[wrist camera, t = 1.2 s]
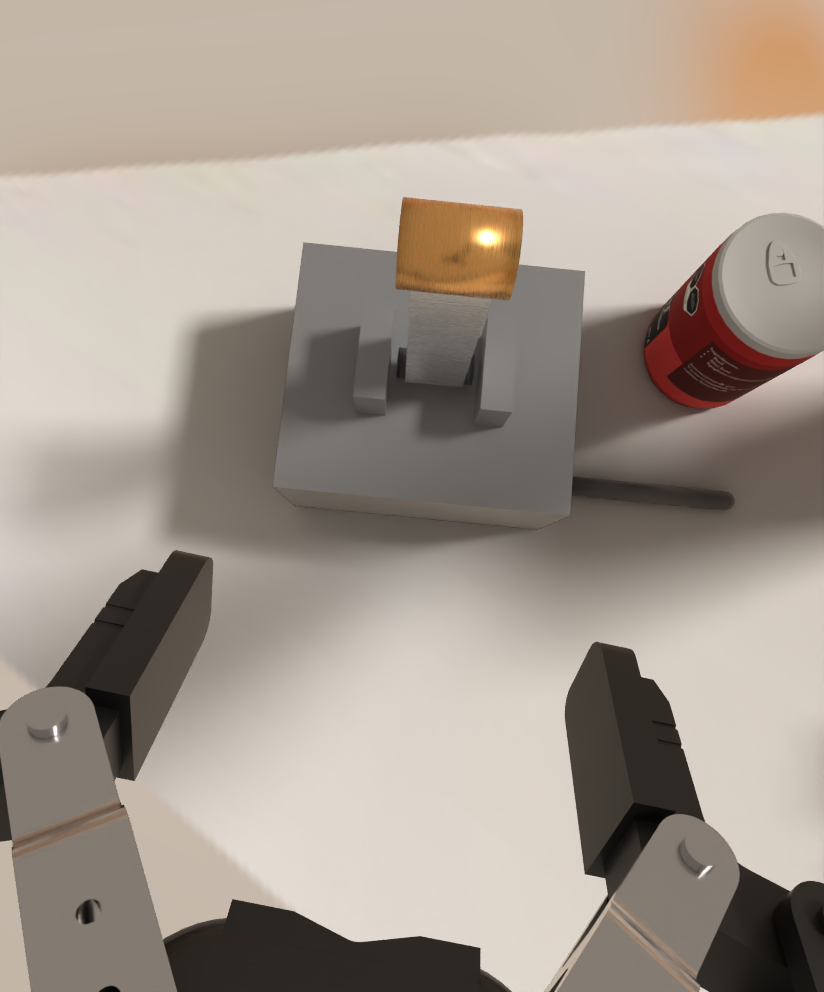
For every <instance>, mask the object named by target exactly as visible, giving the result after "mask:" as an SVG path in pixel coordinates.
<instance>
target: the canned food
mask: <svg viewBox="0 0 824 992" xmlns="http://www.w3.org/2000/svg"><path fill="white" fill-rule="evenodd" d="M823 350H824V226H822V225H820V224H818V223H817V222H815V221H813V220H811V219H808V218H805V217H802V216H799V215H795V214H788V213H773V214H767V215H763V216H759V217H757V218H755V219H753V220H750V221H748V222H746V223H745V224H744V225H743V226H741V227H740V228H739V229H737V230H736V231H735V232H734V233H732V234H731V235H730V236H729V237H728V238H727V239H726V240H725V241H724V242H723V243H722V244H721V245H720V246H719V247H718V248H717V249H716V250H715V251H714V252H713V253H712V254H711V255H710V257H709V258H708V259H707V260H706V261H705V262H704V263H703V264H702V265H701V266H700V267H699V268H698V269H697V270H696V272H695V273H694V274H693V275H692V276H691V277H690V278H689V279H688V280H687V281H686V282H685V283H684V284H683V285H682V287H681V288H680V289H679V290H678V291H677V292H676V293H675V294H674V295H673V296H672V297H671V298H670V299H669V301H668V302H667V303H666V304H665V305H664V306H663V307H662V308H661V309H660V310H659V311H658V313H657V314H656V315H655V316H654V318H653V319H652V321H651V323H650V325H649V327H648V331H647V335H646V338H645V343H644V358H645V364H646V367H647V370H648V373H649V375H650V377H651V379H652V381H653V382H654V384H655V385H656V386H657V387H658V389H659V390H660V391H661V392H662V393H663V394H665V395H666V396H667V397H668V398H670V399H671V400H673V401H675V402H677V403H679V404H681V405H684V406H687V407H693V408H715V407H719V406H723V405H726V404H728V403H730V402H731V401H733V400H735V399H737V398H739V397H741V396H743V395H744V394H746V393H748V392H750V391H752V390H753V389H755V388H757V387H759V386H761V385H763V384H764V383H766V382H768V381H770V380H772V379H773V378H775V377H777V376H779V375H781V374H783V373H784V372H786V371H788V370H790V369H792V368H793V367H795V366H797V365H799V364H801V363H803V362H804V361H806V360H808V359H810V358H812V357H813V356H815V355H816V354H818V353H820V352H822V351H823Z"/></svg>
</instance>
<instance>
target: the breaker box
mask: <svg viewBox="0 0 824 992" xmlns="http://www.w3.org/2000/svg"><path fill="white" fill-rule="evenodd" d="M396 262H397V252H391V251H381V250H372V249H362V248H352V247H342V246H333V245H323V244H313V243H303V250H302V258H301V266H300V274H299V282H298V290H297V298H296V305H295V313H294V321H293V329H292V337H291V345H290V353H289V361H288V369H287V376H286V384H285V392H284V400H283V408H282V416H281V424H280V432H279V440H278V447H277V455H276V463H275V471H274V479H273V488H275V489H276V490H277V491H278V492H279V493H280V494H282V495H283V496H284V497H285V498H286V499H287V500H289V501H290V502H291V503H292V504H293V505H294V506H301V507H312V508H322V509H332V510H343V511H353V512H363V513H373V514H384V515H394V516H404V517H415V518H425V519H435V520H446V521H456V522H466V523H476V524H487V525H497V526H507V527H518V528H528V529H540V528H543V527H545V526H547V525H550V524H552V523H554V522H557V521H559V520H561V519H564V518H566V517H568V516H570V512H571V496H572V495H576V496H586V497H596V498H606V499H616V500H627V501H637V502H647V503H657V504H667V505H678V506H688V507H698V508H708V509H719V510H728V509H730V508H731V507H732V506H733V505H734V502H735V500H734V497H733V495H732V494H730V493H728V492H722V491H712V490H702V489H692V488H682V487H671V486H661V485H651V484H641V483H631V482H620V481H610V480H600V479H590V478H580V477H573V462H574V446H575V429H576V412H577V396H578V379H579V362H580V346H581V329H582V312H583V296H584V279H585V271H576V270H566V269H557V268H547V267H537V266H527V265H518V270H517V276H516V280H515V285H514V289H513V292H512V295H511V298H510V300H509V301H505V300H496V299H492V300H491V303H490V306H489V309H488V312H487V315H486V318H485V321H484V324H483V327H482V330H481V333H480V336H479V338H478V341H477V344H476V347H475V350H474V353H473V355H475V369H474V376H473V382H472V385H463V386H462V388H461V387H451V386H441V385H431V384H421V383H411V382H405V379H401V378H396V370H397V359H398V350H399V347H401V348H407V340H408V322H409V304H410V291H407V290H397V289H396V288H395V281H396Z"/></svg>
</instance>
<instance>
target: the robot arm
mask: <svg viewBox="0 0 824 992" xmlns="http://www.w3.org/2000/svg"><path fill="white" fill-rule="evenodd" d="M212 577H213V560H212V558H209V557H205V556H200V555H196V554H191V553H186V552H182V551H177V550H175V551H173V552H172V553H171V555H170V556H169V558H168V559H167V561H166V562H165V564H164V565H163V567H162V569H161V570H160V572H159V573H156V572H152V571H147V570H140V571H139V572H137V573H136V574H134V575H133V576H131V577H130V578H128V579H127V580H125V581H124V582H122V583H121V584H119V586H118V587H117V589H116V590H115V592H114V593H113V594H112V596H111V597H110V599H109V600H108V601H107V603H106V606H105V608H104V607H103V609H102V610H101V611H100V613H99V614H98V616H97V617H96V618H95V622H94V624H93V623H92V624H91V625H90V627H89V628H88V630H87V631H86V633H85V634H84V635H83V637H82V638H81V640H80V641H79V642H78V644H77V645H76V647H75V648H74V649H73V651H72V652H71V654H70V655H69V657H68V658H67V659H66V661H65V662H64V664H63V665H62V666H61V668H60V669H59V671H58V672H57V674H56V675H55V676H54V678H53V679H52V681H51V682H50V683H49V684H48V685H47V687H46V688H43V689H39V690H36V691H34V692H31V693H29V694H27V695H25V696H23V697H22V698H20V699H18V700H17V701H16V702H15V703H13V704H12V705H11V706H10V707H9V708H8V709H6V710H2V711H0V841H8V840H12V842H13V847H12V858H13V866H14V872H15V880H16V887H17V894H18V902H19V909H20V916H21V923H22V930H23V936H24V944H25V952H26V959H27V965H28V973H29V980H30V987H31V992H512V991H510V990H509V989H508V988H507V987H506V986H505V985H504V984H503V983H501V982H500V981H499V980H497V979H496V978H494V977H493V976H491V975H490V974H489V973H487V972H485V971H483V970H481V969H480V948H477V947H472V946H467V945H462V944H457V943H452V942H447V941H442V940H437V939H432V938H427V937H421V936H417V937H407V938H398V939H388V940H378V941H368V942H353V941H350V940H348V939H346V938H344V937H342V936H340V935H338V934H336V933H334V932H332V931H331V930H329V929H327V928H325V927H323V926H321V925H319V924H317V923H315V922H313V921H311V920H309V919H308V918H306V917H304V916H302V915H300V914H298V913H296V912H294V911H289V910H284V909H279V908H274V907H269V906H264V905H259V904H254V903H249V902H244V901H238V900H234V899H233V900H232V902H231V906H230V909H229V913H228V916H227V918H223V919H214V920H210V921H206V922H202V923H198V924H195V925H193V926H190V927H187V928H184V929H182V930H180V931H178V932H176V933H174V934H172V935H170V936H168V937H166V938H165V939H162V935H161V932H160V928H159V925H158V921H157V917H156V913H155V910H154V906H153V903H152V899H151V895H150V892H149V888H148V885H147V881H146V877H145V874H144V870H143V867H142V863H141V860H140V856H139V852H138V849H137V845H136V842H135V838H134V835H133V831H132V827H131V823H130V820H129V817H128V814H127V811H126V808H125V807H124V805H121V803H120V800H119V797H118V793H117V789H116V785H115V782H114V781H115V779H116V777H118V778H122V779H128V780H132V781H135V779H136V777H137V775H138V773H139V771H140V769H141V767H142V764H143V762H144V760H145V758H146V756H147V754H148V752H149V750H150V748H151V746H152V744H153V742H154V740H155V738H156V736H157V734H158V732H159V730H160V728H161V726H162V724H163V722H164V720H165V718H166V716H167V714H168V711H169V709H170V707H171V705H172V703H173V701H174V699H175V697H176V695H177V693H178V691H179V689H180V687H181V685H182V683H183V681H184V679H185V677H186V675H187V673H188V671H189V669H190V667H191V665H192V663H193V661H194V658H195V656H196V654H197V652H198V650H199V648H200V646H201V644H202V642H203V640H204V637H205V635H206V632H207V628H208V625H209V620H210V615H211V598H212ZM565 722H566V730H567V738H568V746H569V754H570V761H571V769H572V777H573V785H574V793H575V800H576V808H577V816H578V824H579V832H580V839H581V847H582V855H583V863H584V871H585V874H587V875H592V876H597V877H602V878H606V885H607V891H608V895H607V896H606V897H605V899H604V900H603V901H602V903H601V905H600V906H599V908H598V909H597V911H596V912H595V914H594V915H593V917H592V919H591V920H590V922H589V923H588V925H587V926H586V928H585V929H584V931H583V933H582V934H581V936H580V937H579V939H578V940H577V942H576V943H575V945H574V947H573V948H572V950H571V951H570V953H569V954H568V956H567V957H566V959H565V961H564V962H563V964H562V965H561V967H560V968H559V970H558V972H557V973H556V975H555V976H554V978H553V979H552V981H551V982H550V984H549V985H548V987H547V988H546V989H545V991H544V992H699V990H700V987H702V988H704V989H705V990H707V991H709V992H824V884H823V883H820V882H815V881H806V882H802V883H800V884H798V885H797V886H796V887H795V888H794V889H793V890H792V891H791V892H790V891H788V890H786V889H785V888H783V887H781V886H779V885H777V884H775V883H773V882H771V881H769V880H767V879H765V878H763V877H762V876H760V875H758V874H756V873H754V872H752V871H750V870H748V869H747V868H745V867H743V866H742V865H740V864H739V863H738V862H737V860H736V857H735V855H734V853H733V851H732V849H731V848H730V846H729V845H728V843H727V842H726V841H725V839H724V838H723V837H722V836H721V835H720V834H719V833H718V832H717V831H716V830H715V829H713V828H712V827H711V826H710V825H708V824H707V823H705V820H704V818H703V814H702V811H701V808H700V804H699V801H698V798H697V794H696V791H695V788H694V784H693V781H692V777H691V774H690V771H689V767H688V764H687V761H686V757H685V754H684V751H683V749H681V740H680V737H679V734H678V730H676V729H675V727H676V724H675V720H674V717H673V713H672V710H671V707H670V703H669V701H668V700H667V698H666V697H665V696H664V694H663V693H662V691H661V690H660V689H659V687H658V686H657V684H656V683H655V681H654V680H652V679H647V678H642V677H641V675H640V671H639V668H638V664H637V660H636V656H635V654H634V652H633V651H632V650H631V649H627V648H623V647H618V646H613V645H609V644H604V643H600V642H595V643H593V644H592V646H591V647H590V649H589V651H588V653H587V655H586V657H585V659H584V661H583V663H582V665H581V667H580V669H579V671H578V673H577V675H576V677H575V679H574V681H573V683H572V685H571V687H570V689H569V692H568V695H567V699H566V705H565Z"/></svg>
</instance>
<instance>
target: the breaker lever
mask: <svg viewBox="0 0 824 992" xmlns="http://www.w3.org/2000/svg"><path fill="white" fill-rule="evenodd" d="M522 232H523V212H522V210H521V209H513V208H503V207H494V206H484V205H475V204H465V203H455V202H446V201H436V200H426V199H417V198H407V197H403V201H402V208H401V216H400V226H399V237H398V249H397V262H396V281H395V288H396V289H397V290H407V291H410V304H409V322H408V340H407V348H401V347H399V350H398V359H397V370H396V378H401V379H405V382H411V383H421V384H431V385H441V386H451V387H461V388H462V386H463V385H472V382H473V376H474V369H475V355H473V353H474V350H475V347H476V344H477V341H478V338H479V336H480V333H481V330H482V327H483V324H484V321H485V318H486V315H487V312H488V309H489V306H490V303H491V300H492V299H496V300H505V301H509V300H510V298H511V295H512V292H513V289H514V285H515V280H516V276H517V270H518V265H519V258H520V251H521V243H522Z"/></svg>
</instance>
